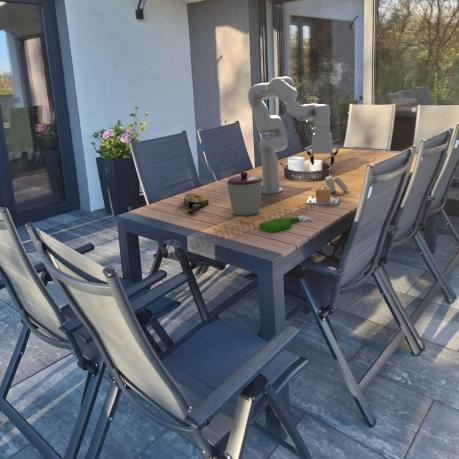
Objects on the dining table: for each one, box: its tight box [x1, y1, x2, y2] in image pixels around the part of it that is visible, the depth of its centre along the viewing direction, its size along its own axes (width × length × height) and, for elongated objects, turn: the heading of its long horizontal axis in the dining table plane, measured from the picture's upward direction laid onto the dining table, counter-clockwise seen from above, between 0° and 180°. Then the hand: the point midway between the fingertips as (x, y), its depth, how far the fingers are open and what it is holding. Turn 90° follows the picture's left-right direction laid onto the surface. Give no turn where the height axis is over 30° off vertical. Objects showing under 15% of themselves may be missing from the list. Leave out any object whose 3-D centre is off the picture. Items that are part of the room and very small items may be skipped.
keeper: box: [305, 188, 341, 206], centre depth 253 cm, size 16×12×7 cm
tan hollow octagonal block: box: [315, 186, 331, 201], centre depth 252 cm, size 7×7×6 cm
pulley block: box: [182, 193, 210, 214], centre depth 261 cm, size 14×6×30 cm
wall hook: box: [325, 175, 349, 194], centre depth 269 cm, size 8×10×10 cm
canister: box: [225, 171, 263, 217], centre depth 240 cm, size 18×18×21 cm
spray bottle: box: [259, 215, 313, 234], centre depth 221 cm, size 3×11×24 cm
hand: (322, 164), depth 248 cm, fingers open, 9 cm apart
